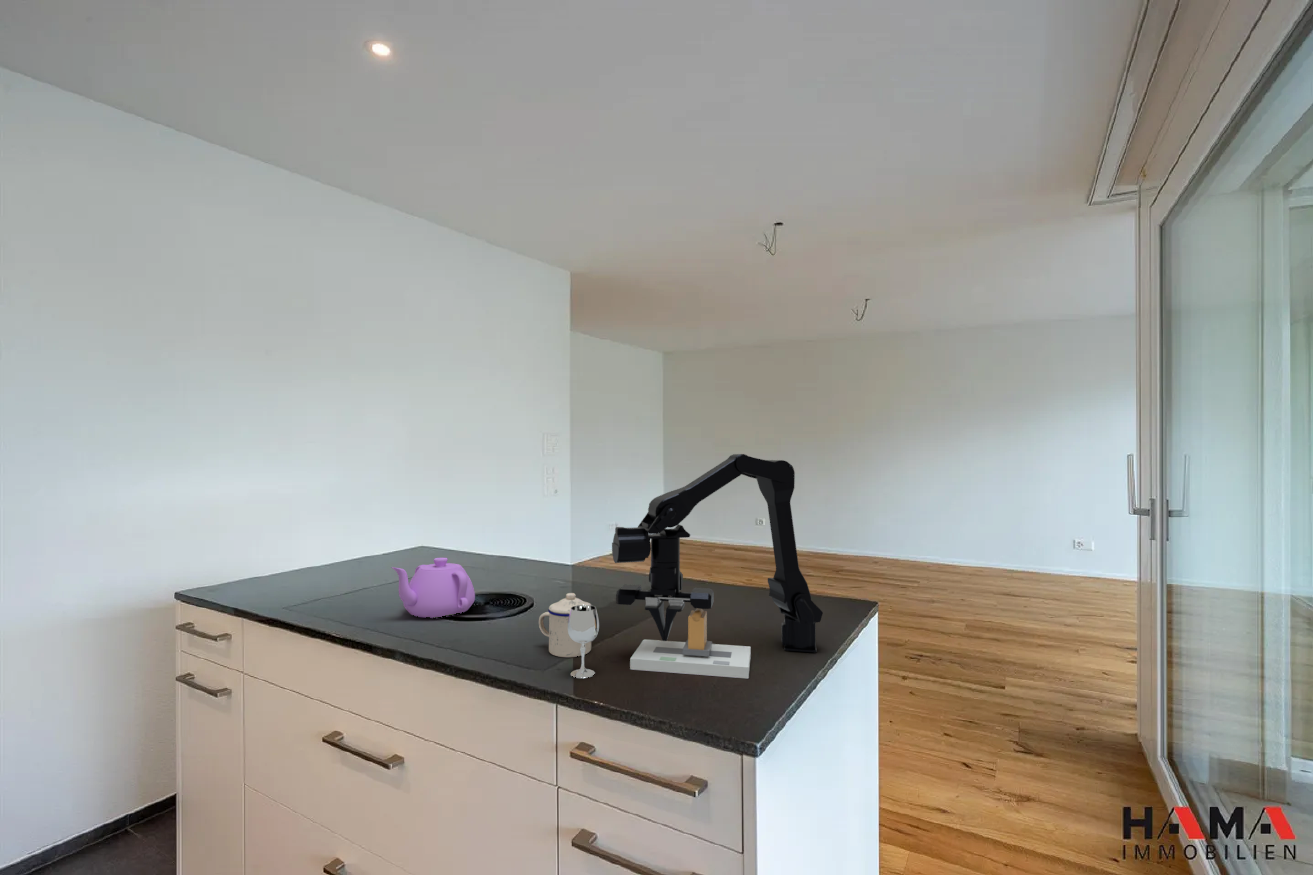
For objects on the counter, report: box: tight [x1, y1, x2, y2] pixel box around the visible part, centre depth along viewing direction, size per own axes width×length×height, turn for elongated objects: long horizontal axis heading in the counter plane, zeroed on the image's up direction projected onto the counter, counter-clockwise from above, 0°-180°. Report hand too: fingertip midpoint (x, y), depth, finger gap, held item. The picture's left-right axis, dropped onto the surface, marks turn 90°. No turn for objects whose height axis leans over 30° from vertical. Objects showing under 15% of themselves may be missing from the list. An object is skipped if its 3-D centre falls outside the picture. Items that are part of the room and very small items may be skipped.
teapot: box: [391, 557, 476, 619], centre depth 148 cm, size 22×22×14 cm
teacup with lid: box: [538, 592, 592, 658], centre depth 121 cm, size 12×9×12 cm
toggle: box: [683, 608, 713, 656], centre depth 114 cm, size 5×6×8 cm
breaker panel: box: [629, 639, 752, 679], centre depth 114 cm, size 22×12×2 cm, turn 79°
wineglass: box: [568, 604, 600, 679], centre depth 108 cm, size 6×6×12 cm
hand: (665, 640), depth 115 cm, fingers closed
